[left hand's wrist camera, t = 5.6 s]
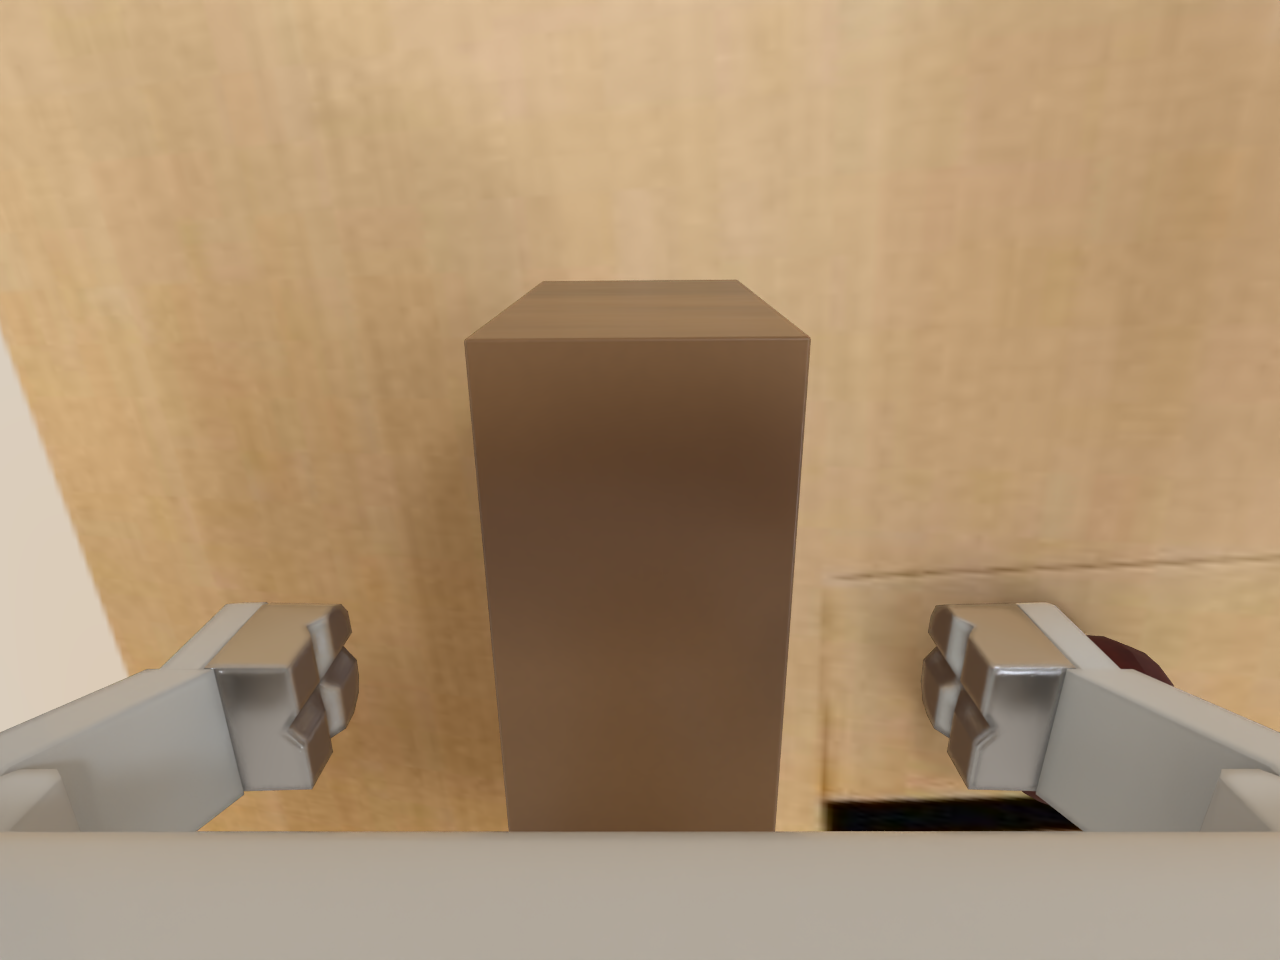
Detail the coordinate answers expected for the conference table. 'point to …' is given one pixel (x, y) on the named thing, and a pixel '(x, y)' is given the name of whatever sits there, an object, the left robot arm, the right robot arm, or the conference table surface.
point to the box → (639, 549)
